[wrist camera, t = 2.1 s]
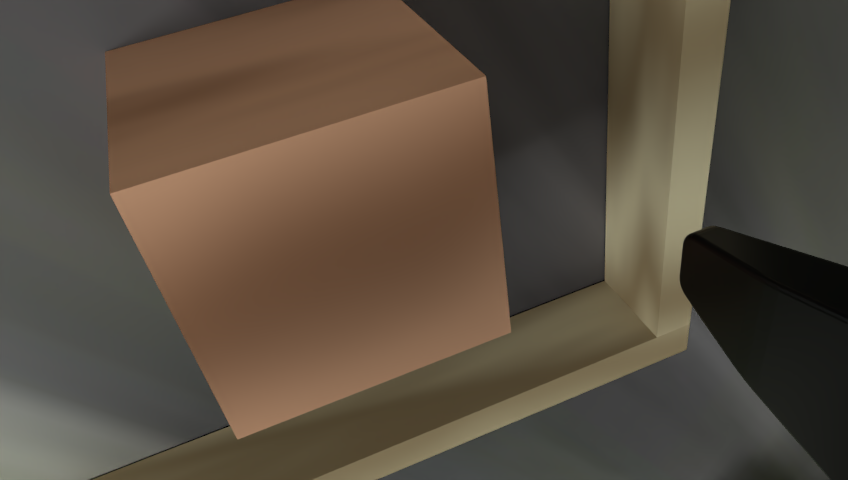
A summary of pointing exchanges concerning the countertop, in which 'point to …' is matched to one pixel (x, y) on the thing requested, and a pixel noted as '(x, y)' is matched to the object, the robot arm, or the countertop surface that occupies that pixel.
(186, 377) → the countertop surface
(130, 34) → the countertop surface
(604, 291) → the open wooden frame
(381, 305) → the terracotta cube
